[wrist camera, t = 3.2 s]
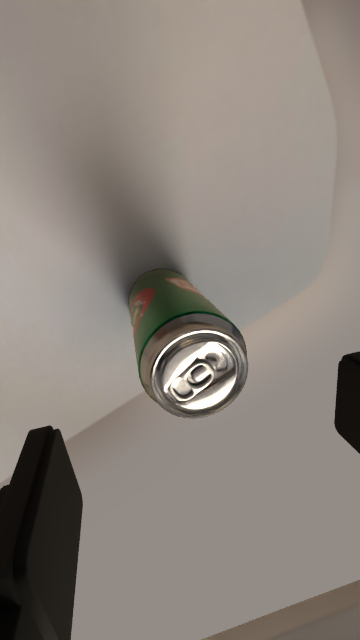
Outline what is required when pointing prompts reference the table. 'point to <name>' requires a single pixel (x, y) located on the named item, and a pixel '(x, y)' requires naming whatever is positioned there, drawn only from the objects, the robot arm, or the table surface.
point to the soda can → (185, 346)
